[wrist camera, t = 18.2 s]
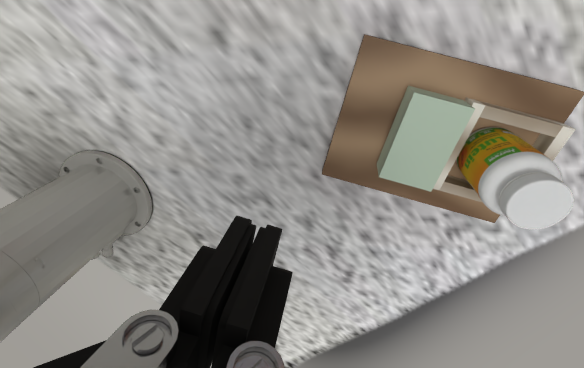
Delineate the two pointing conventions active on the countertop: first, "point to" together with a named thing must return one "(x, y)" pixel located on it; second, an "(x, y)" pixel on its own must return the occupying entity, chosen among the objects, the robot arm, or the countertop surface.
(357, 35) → the countertop surface
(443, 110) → the block
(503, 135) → the supplement bottle
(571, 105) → the board
